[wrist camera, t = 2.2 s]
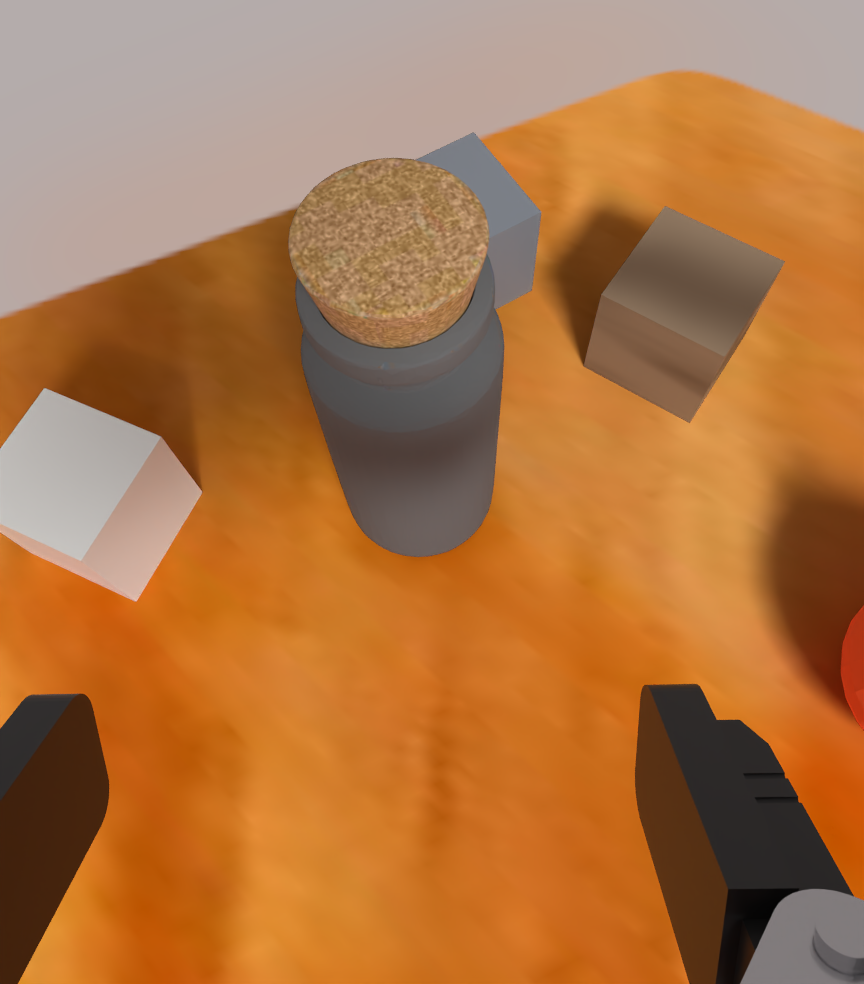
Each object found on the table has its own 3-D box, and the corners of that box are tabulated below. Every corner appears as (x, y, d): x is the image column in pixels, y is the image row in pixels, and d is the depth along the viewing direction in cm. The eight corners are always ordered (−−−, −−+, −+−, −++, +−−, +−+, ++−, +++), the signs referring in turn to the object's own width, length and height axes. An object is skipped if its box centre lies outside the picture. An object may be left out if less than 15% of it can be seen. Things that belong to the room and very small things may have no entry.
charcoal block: (472, 217, 38) (473, 132, 34) (531, 291, 36) (541, 212, 32) (379, 263, 37) (368, 182, 33) (435, 341, 36) (431, 267, 31)
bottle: (336, 441, 34) (247, 163, 20) (473, 412, 34) (479, 118, 20) (362, 573, 31) (282, 362, 18) (509, 540, 32) (544, 307, 18)
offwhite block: (100, 449, 34) (44, 387, 29) (203, 493, 33) (161, 436, 28) (31, 553, 32) (-41, 504, 28) (136, 602, 31) (80, 561, 27)
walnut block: (639, 287, 36) (665, 206, 32) (743, 337, 35) (784, 261, 30) (583, 367, 35) (601, 294, 30) (689, 423, 33) (724, 356, 29)
